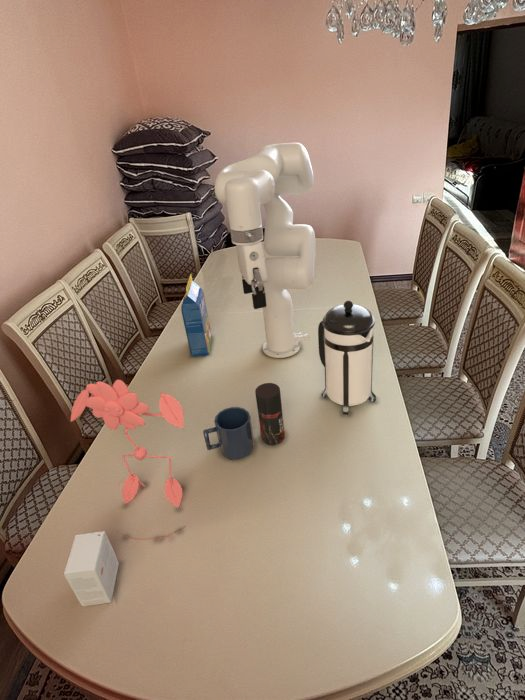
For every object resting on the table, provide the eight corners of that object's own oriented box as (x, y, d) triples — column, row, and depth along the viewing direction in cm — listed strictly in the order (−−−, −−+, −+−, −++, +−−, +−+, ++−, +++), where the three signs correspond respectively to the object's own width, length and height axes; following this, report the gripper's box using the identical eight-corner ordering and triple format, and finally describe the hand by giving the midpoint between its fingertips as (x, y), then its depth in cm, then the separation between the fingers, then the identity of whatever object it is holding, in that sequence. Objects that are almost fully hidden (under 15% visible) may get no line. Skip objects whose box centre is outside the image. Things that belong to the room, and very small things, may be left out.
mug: (249, 432, 118) (245, 403, 113) (258, 454, 111) (254, 424, 106) (205, 444, 116) (198, 415, 111) (211, 467, 108) (205, 438, 103)
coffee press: (379, 383, 130) (383, 287, 114) (371, 419, 117) (375, 317, 101) (320, 376, 135) (316, 284, 120) (307, 410, 123) (301, 312, 107)
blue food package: (190, 356, 152) (175, 289, 139) (195, 338, 163) (181, 274, 150) (209, 355, 152) (196, 287, 139) (212, 337, 162) (200, 272, 149)
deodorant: (282, 446, 112) (277, 398, 104) (259, 444, 114) (252, 397, 106) (286, 429, 117) (281, 383, 109) (264, 428, 118) (258, 382, 111)
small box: (91, 567, 89) (74, 533, 83) (120, 563, 89) (105, 529, 84) (81, 608, 82) (61, 574, 77) (111, 603, 82) (94, 570, 77)
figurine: (113, 479, 108) (66, 357, 90) (215, 490, 102) (186, 362, 84) (78, 534, 96) (14, 405, 78) (191, 551, 90) (151, 415, 71)
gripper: (273, 241, 99) (279, 310, 108) (252, 222, 114) (259, 284, 123) (240, 247, 98) (249, 317, 107) (223, 227, 112) (232, 290, 121)
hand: (254, 299), depth 115 cm, fingers open, 9 cm apart
